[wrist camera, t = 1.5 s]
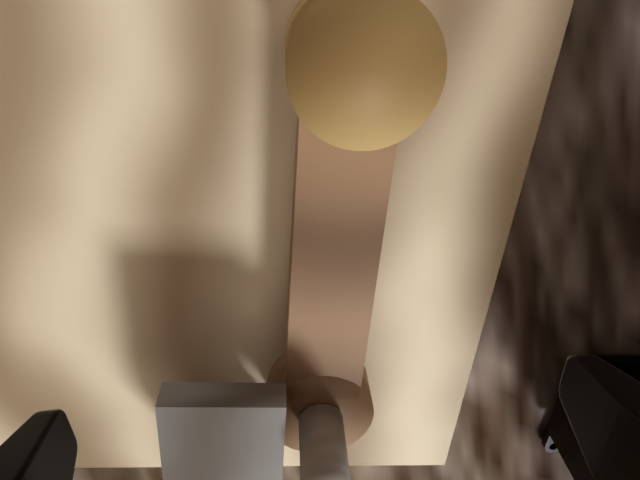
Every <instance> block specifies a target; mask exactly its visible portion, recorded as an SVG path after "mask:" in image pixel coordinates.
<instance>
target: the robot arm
mask: <svg viewBox="0 0 640 480" xmlns="http://www.w3.org/2000/svg"><path fill="white" fill-rule="evenodd" d="M542 445H543V447H544V449H545V450H546V451H547V452H549V453H560V455H561V457H562V458H563V460H564V462H565V464H566V466H567V467H568V469H569V471H570V473H571V475H572V476H573V478H574V480H640V356H596V355H594V354H589V353H587V354H577V355H571V356H569V357H568V358H567V360H566V362H565V366H564V370H563V373H562V377H561V380H560V384H559V399H558V401H557V404H556V406H555V409H554V411H553V414H552V416H551V419H550V421H549V424H548V426H547V429H546V431H545V434H544V436H543V439H542ZM77 449H78V447H77V440H76V437H75V435H74V432H73V430H72V427H71V425H70V423H69V420H68V418H67V416H66V414H65V412H64V411H63V410H61V409H53V410H43V411H38V412H36V413H34V414H33V415H32V416H31V417H30V418H29V419H28V420H27V421H26V422H24V423H23V424H22V425H21V426H20V427H19V428H18V429H17V430H16V431H15V432H14V433H13V434H12V435H11V436H10V437H9V438H8V439H7V440H6V441H4V442H3V443H2V444H1V445H0V480H73V474H74V469H75V463H76V457H77Z"/></svg>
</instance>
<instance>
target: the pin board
mask: <svg viewBox="0 0 640 480" xmlns="http://www.w3.org/2000/svg"><path fill="white" fill-rule="evenodd" d="M420 1H421V2H422V3H423V4H424V5H425V6H426V7H427V8H428V10H429V11H430V12H431V13H432V14H433V16H434V18H435V19H436V21H437V23H438V24H439V27H440V29H441V31H442V34H443V37H444V41H445V44H446V51H447V74H446V80H445V84H444V88H443V91H442V94H441V97H440V99H439V101H438V103H437V105H436V107H435V109H434V110H433V112H432V113H431V115H430V116H429V117H428V119H427V120H426V121H425V122H424V123H423V124H422V126H420V127H419V128H418V129H417V130H416V131H415V132H414V133H412V134H411V135H410V136H408V137H407V138H405V139H404V140H402V141H400V142H398V143H397V148H396V154H395V161H394V168H393V175H392V181H391V188H390V195H389V202H388V208H387V215H386V222H385V229H384V235H383V242H382V249H381V256H380V262H379V269H378V276H377V283H376V289H375V296H374V303H373V310H372V316H371V323H370V330H369V337H368V343H367V350H366V357H365V364H364V366H365V369H366V372H367V377H368V382H369V387H370V392H371V397H372V402H373V408H374V416H373V420H372V423H371V425H370V427H369V429H368V430H367V431H366V433H365V434H364V435H363V436H362V437H361V438H360V439H358V440H357V441H356V442H354V443H352V444H351V445H349V446H346V439H345V431H344V424H343V416H342V414H341V412H340V411H339V410H338V409H337V408H336V407H334V406H331V405H327V404H317V405H313V406H310V407H308V408H306V409H305V410H304V411H303V412H302V413H301V414H300V416H299V420H298V423H299V451H298V450H294V449H292V448H289V447H287V446H285V445H284V441H285V424H286V383H267V380H268V374H269V371H270V369H271V367H272V365H273V364H274V362H275V361H276V360H277V359H278V358H279V357H280V356H281V355H282V354H283V353H285V339H286V320H287V300H288V281H289V261H290V242H291V222H292V203H293V183H294V164H295V144H296V124H297V114H296V112H295V110H294V108H293V106H292V104H291V101H290V98H289V95H288V91H287V86H286V79H285V45H284V43H285V34H286V29H287V25H288V22H289V20H290V17H291V15H292V13H293V11H294V9H295V8H296V6H297V5H298V3H299V2H300V0H0V445H1V444H2V443H3V442H4V441H6V440H7V439H8V438H9V437H10V436H11V435H12V434H13V433H14V432H15V431H16V430H17V429H18V428H19V427H20V426H21V425H22V424H23V423H24V422H26V421H27V420H28V419H29V418H30V417H31V416H32V415H33V414H34V413H36V412H38V411H43V410H53V409H61V410H63V411H64V412H65V414H66V416H67V418H68V420H69V423H70V425H71V427H72V430H73V432H74V435H75V437H76V440H77V447H78V449H77V457H76V463H75V468H100V467H162V476H163V480H282V477H283V466H300V479H301V480H351V477H350V469H349V466H364V465H445V461H446V458H447V454H448V451H449V447H450V443H451V440H452V436H453V433H454V429H455V426H456V422H457V418H458V415H459V411H460V408H461V404H462V400H463V397H464V393H465V390H466V386H467V382H468V379H469V375H470V372H471V368H472V365H473V361H474V357H475V354H476V350H477V347H478V343H479V339H480V336H481V332H482V329H483V325H484V322H485V318H486V314H487V311H488V307H489V304H490V300H491V296H492V293H493V289H494V286H495V282H496V279H497V275H498V271H499V268H500V264H501V261H502V257H503V253H504V250H505V246H506V243H507V239H508V235H509V232H510V228H511V225H512V221H513V218H514V214H515V210H516V207H517V203H518V200H519V196H520V192H521V189H522V185H523V182H524V178H525V175H526V171H527V167H528V164H529V160H530V157H531V153H532V149H533V146H534V142H535V139H536V135H537V131H538V128H539V124H540V121H541V117H542V114H543V110H544V106H545V103H546V99H547V96H548V92H549V88H550V85H551V81H552V78H553V74H554V71H555V67H556V63H557V60H558V56H559V53H560V49H561V45H562V42H563V38H564V35H565V31H566V27H567V24H568V20H569V17H570V13H571V10H572V6H573V2H574V0H420Z"/></svg>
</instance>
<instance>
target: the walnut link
mask: <svg viewBox="0 0 640 480" xmlns="http://www.w3.org/2000/svg"><path fill="white" fill-rule="evenodd" d="M284 45H285V79H286V86H287V91H288V95H289V98H290V101H291V104H292V106H293V108H294V110H295V112H296V114H297V124H296V144H295V164H294V183H293V203H292V222H291V242H290V261H289V281H288V300H287V320H286V339H285V353H283V354H282V355H281V356H280V357H279V358H278V359H277V360H276V361H275V362H274V364H273V365H272V367H271V369H270V371H269V374H268V380H267V383H286V424H285V441H284V445H285V446H287V447H289V448H292V449H294V450H298V451H299V423H298V420H299V416H300V414H301V413H302V412H303V411H304V410H305V409H306V408H308V407H310V406H313V405H317V404H327V405H331V406H334V407H336V408H337V409H338V410H339V411H340V412H341V414H342V416H343V424H344V431H345V439H346V446H349V445H351V444H352V443H354V442H356V441H357V440H358V439H360V438H361V437H362V436H363V435H364V434H365V433H366V431H367V430H368V429H369V427H370V425H371V423H372V420H373V416H374V408H373V402H372V397H371V392H370V387H369V382H368V377H367V372H366V369H365V366H364V364H365V357H366V350H367V343H368V337H369V330H370V323H371V316H372V310H373V303H374V296H375V289H376V283H377V276H378V269H379V262H380V256H381V249H382V242H383V235H384V229H385V222H386V215H387V208H388V202H389V195H390V188H391V181H392V175H393V168H394V161H395V154H396V148H397V143H398V142H400V141H402V140H404V139H405V138H407V137H408V136H410V135H411V134H412V133H414V132H415V131H416V130H417V129H418V128H419V127H420V126H422V124H423V123H424V122H425V121H426V120H427V119H428V117H429V116H430V115H431V113H432V112H433V110H434V109H435V107H436V105H437V103H438V101H439V99H440V97H441V94H442V91H443V88H444V84H445V80H446V74H447V51H446V44H445V41H444V37H443V34H442V31H441V29H440V27H439V24H438V23H437V21H436V19H435V18H434V16H433V14H432V13H431V12H430V11H429V10H428V8H427V7H426V6H425V5H424V4H423V3H422V2H421V1H420V0H300V2H299V3H298V5H297V6H296V8H295V9H294V11H293V13H292V15H291V17H290V20H289V22H288V25H287V29H286V34H285V43H284Z"/></svg>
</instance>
